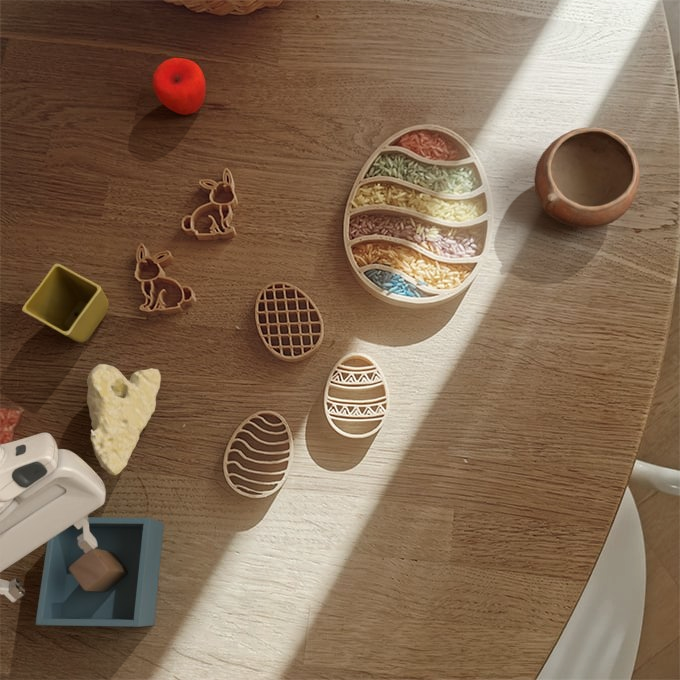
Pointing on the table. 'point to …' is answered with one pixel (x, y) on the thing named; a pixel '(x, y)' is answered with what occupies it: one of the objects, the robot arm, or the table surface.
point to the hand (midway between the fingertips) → (56, 571)
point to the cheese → (119, 412)
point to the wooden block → (98, 570)
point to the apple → (180, 85)
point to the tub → (124, 597)
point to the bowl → (587, 178)
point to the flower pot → (68, 303)
